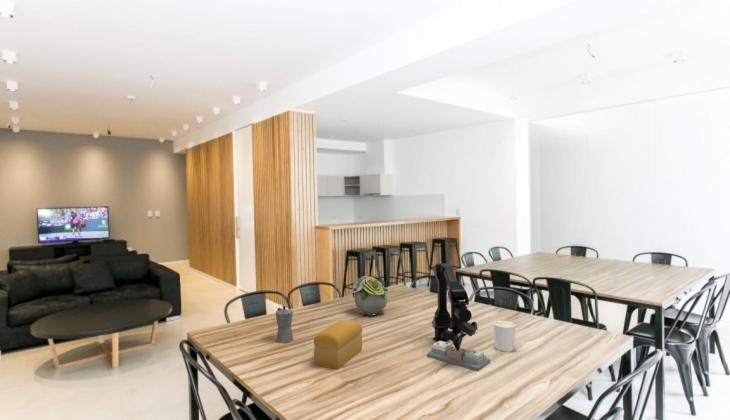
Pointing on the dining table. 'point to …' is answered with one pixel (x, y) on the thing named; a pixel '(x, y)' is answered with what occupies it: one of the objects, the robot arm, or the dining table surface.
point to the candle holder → (504, 335)
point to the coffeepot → (284, 325)
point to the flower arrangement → (370, 294)
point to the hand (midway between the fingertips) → (457, 349)
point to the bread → (338, 344)
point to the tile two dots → (442, 345)
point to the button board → (458, 359)
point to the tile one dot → (474, 354)
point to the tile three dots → (457, 351)
